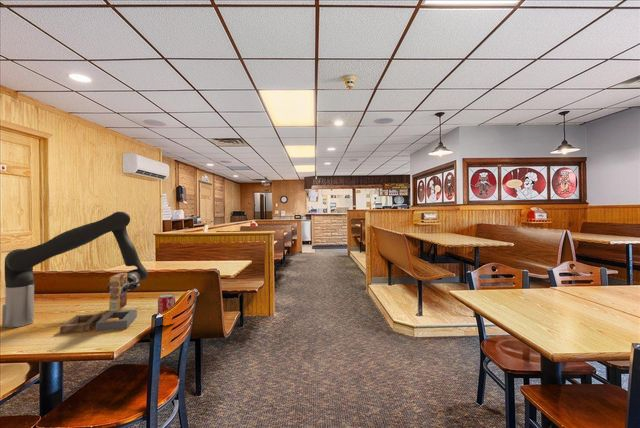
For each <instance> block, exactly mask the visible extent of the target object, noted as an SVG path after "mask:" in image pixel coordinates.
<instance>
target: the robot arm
mask: <svg viewBox="0 0 640 428" xmlns="http://www.w3.org/2000/svg"><path fill="white" fill-rule="evenodd" d="M130 222H131V216H130V215H129V214H128V213H127V212H126V211H125V212H124V211H116V212H114V213H112V214H110V215H108V216H105V217H103V218H101V219H99V220H97V221H93V222H90V223H86V224H83V225H80V226H77V227H75V228H72V229H69V230H66V231H64V232H62V233H60V234H57V235H55V236H54V237H52V238H51V239H50V240H47V241H45V242H43V243H41V244H38V245H36V246H35V245H34V246H31V247H29V248H25V249H24V248H23V249H22V248H17V249H13V250H12V251H9V252H8V253H7V254H6V256H5V258H4V281H5V282H4V283H5V286H4V287H5V289H4V291H5V292H4V294H5V296H4V297H5V298H4V300H5V301H4V304H3V305H2V309H1V310H2V311H1V312H2V313H1V328H10V329H11V328H18V327H23V326H27V325H31V324H33V323H34V321H35V320H34V318H35V314H34V313H35V312H34V311H35V310H34V309H35V277H34V267H35V266H38V265H39V264H41V263H43V262H45V261H47V260H49V259H51V258H54V257H56V256H59V255H62V254H65V253H67V252H70V251H73V250H75V249H77V248H80V247H82V246H84V245H87V244H88V243H91V242H93V241H94V240H96V239H98V238H100V237H101V236H103V235H105V234H107V233H110V232H112V234H113V236H114V238H115V240H116V243H117V246H118V247H119V250H120V253H121V256H122V259H123V262H124V265H125V267H135V268H134V269H131V270H129V271H127V272H126V273H127V285H126V286H124V287H123V292H126V291H127V292H130V291H134V290H136V289H138V288H140V287H141V286H140V282H141V281H144V280H146V279H147V278H148V276H149V272H148V270H147V269H146V267H144V265H143V263H142V261H141V260H140V258H139V254H138V251H137V249H136V248H135V246H134V243H133V241H132V240H131V238H130V237H129V235H128V231H127V226H129V224H130ZM106 286H107V288H106V290H107V292H109V293H110V282H109V283H107V285H106Z"/></svg>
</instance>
